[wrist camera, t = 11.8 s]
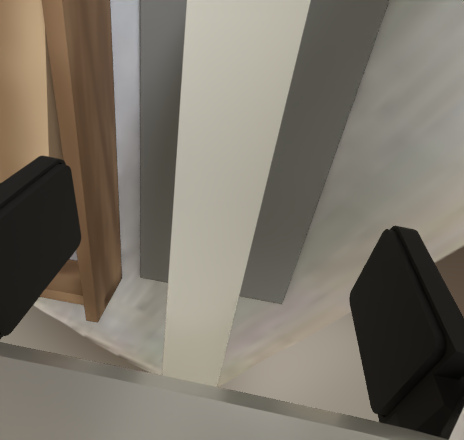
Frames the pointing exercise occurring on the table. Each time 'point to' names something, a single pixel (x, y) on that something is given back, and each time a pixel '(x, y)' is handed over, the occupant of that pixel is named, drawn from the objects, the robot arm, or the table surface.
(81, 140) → the rack
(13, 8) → the offcut short
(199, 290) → the cream rectangular panel
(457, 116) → the table surface
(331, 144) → the mat
